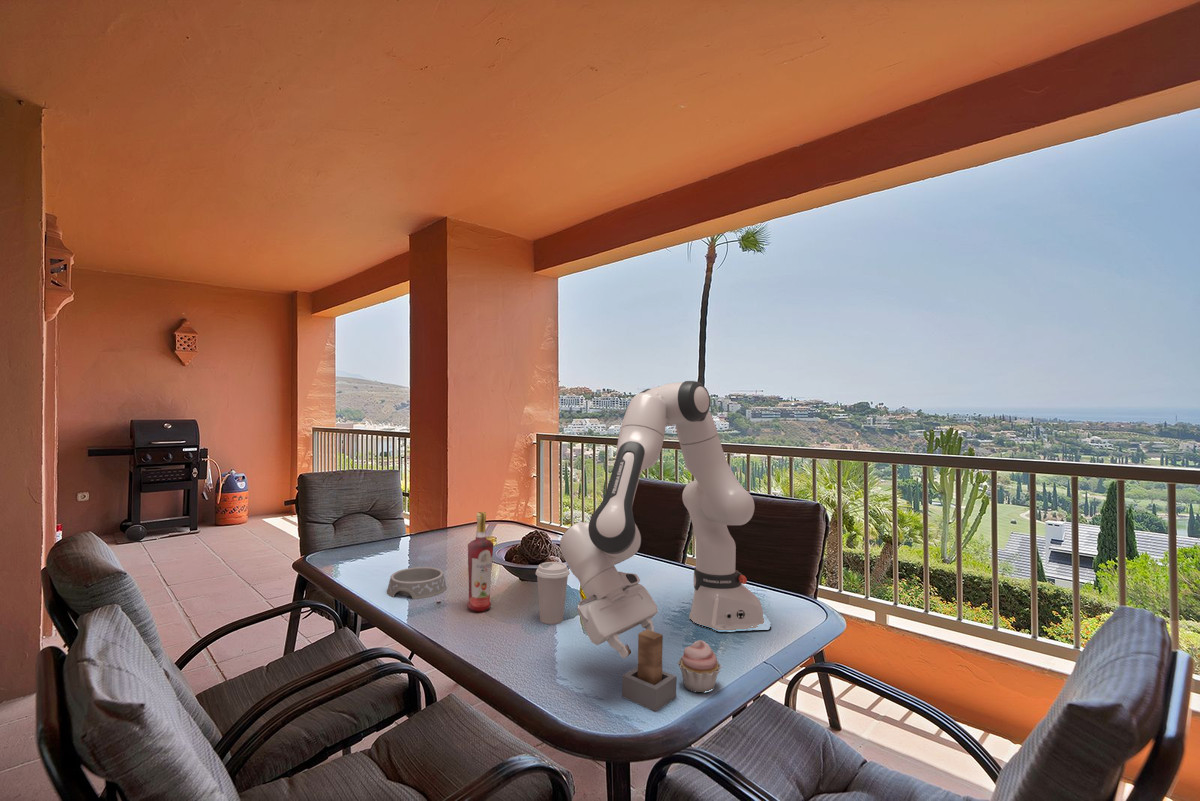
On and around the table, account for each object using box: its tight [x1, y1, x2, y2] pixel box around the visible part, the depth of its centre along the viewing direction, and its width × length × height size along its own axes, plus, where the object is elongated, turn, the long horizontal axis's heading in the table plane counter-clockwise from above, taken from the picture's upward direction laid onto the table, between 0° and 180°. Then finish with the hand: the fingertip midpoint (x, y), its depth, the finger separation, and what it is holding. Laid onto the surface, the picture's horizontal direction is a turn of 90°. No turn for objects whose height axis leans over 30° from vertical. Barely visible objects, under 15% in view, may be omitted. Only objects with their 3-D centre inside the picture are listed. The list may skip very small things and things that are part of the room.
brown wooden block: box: [637, 629, 664, 685], centre depth 112 cm, size 4×3×12 cm
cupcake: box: [677, 639, 722, 693], centre depth 116 cm, size 9×9×10 cm
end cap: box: [621, 666, 678, 713], centre depth 111 cm, size 8×7×4 cm
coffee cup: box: [535, 561, 571, 625], centre depth 151 cm, size 10×10×15 cm
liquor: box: [467, 511, 494, 613], centre depth 158 cm, size 7×7×28 cm
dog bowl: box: [386, 566, 447, 600], centre depth 174 cm, size 17×18×5 cm
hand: (641, 648), depth 113 cm, fingers open, 8 cm apart
